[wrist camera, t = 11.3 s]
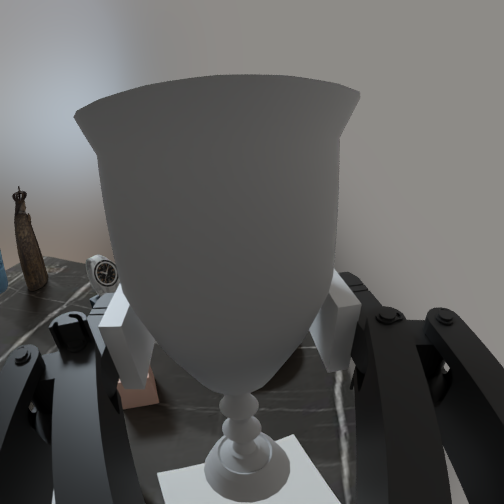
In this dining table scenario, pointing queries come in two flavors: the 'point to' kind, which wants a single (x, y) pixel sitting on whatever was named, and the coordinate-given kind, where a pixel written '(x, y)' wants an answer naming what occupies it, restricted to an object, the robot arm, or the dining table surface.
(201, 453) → the dining table surface
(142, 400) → the terracotta block
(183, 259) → the chalice
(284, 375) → the dining table surface
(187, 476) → the board
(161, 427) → the dining table surface
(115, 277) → the watch
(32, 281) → the statue
